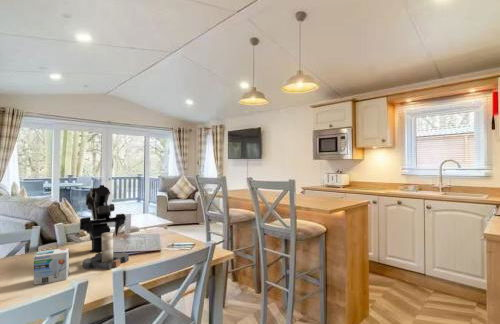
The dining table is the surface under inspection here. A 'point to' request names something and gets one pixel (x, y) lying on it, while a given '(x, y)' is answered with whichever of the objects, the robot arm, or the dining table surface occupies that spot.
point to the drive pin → (107, 247)
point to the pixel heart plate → (98, 264)
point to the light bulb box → (51, 266)
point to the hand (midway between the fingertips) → (105, 236)
